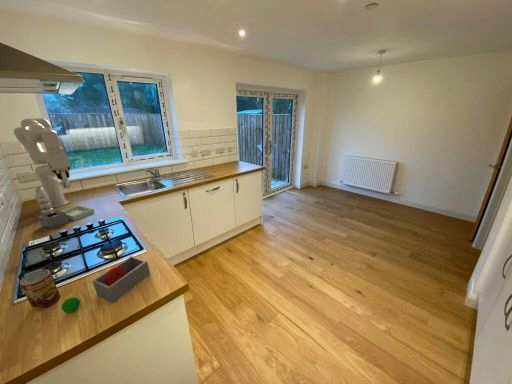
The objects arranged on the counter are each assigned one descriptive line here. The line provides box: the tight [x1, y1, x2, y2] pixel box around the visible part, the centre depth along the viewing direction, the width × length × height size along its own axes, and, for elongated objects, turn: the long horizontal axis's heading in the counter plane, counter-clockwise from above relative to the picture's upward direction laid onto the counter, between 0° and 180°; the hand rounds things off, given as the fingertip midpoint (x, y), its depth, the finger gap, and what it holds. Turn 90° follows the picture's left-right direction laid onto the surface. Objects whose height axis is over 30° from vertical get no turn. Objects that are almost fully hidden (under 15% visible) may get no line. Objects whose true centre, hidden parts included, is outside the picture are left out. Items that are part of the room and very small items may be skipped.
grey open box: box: [91, 255, 151, 304], centre depth 88 cm, size 10×17×7 cm, turn 156°
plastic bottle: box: [34, 186, 55, 216], centre depth 148 cm, size 6×7×20 cm
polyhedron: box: [61, 296, 81, 314], centre depth 77 cm, size 5×5×5 cm
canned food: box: [19, 268, 62, 312], centre depth 79 cm, size 8×8×12 cm
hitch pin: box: [58, 168, 71, 189], centre depth 142 cm, size 5×5×13 cm
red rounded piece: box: [105, 265, 125, 286], centre depth 89 cm, size 12×4×8 cm, turn 153°
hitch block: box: [37, 210, 70, 230], centre depth 137 cm, size 10×10×7 cm
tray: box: [60, 204, 95, 221], centre depth 152 cm, size 18×13×3 cm
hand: (64, 178), depth 142 cm, fingers closed on hitch pin, 3 cm apart
